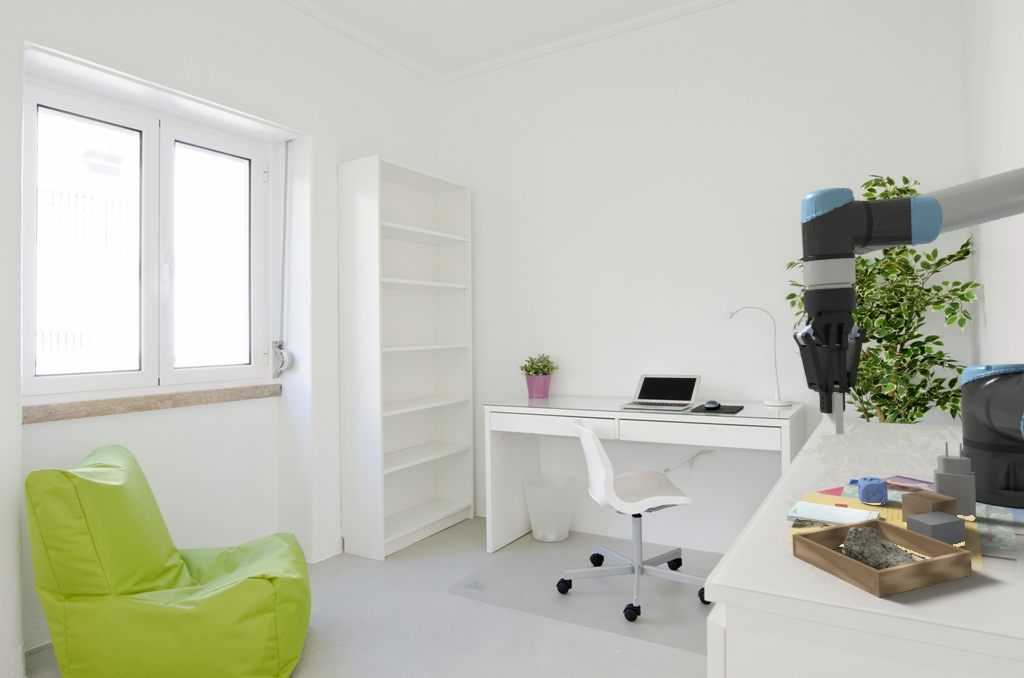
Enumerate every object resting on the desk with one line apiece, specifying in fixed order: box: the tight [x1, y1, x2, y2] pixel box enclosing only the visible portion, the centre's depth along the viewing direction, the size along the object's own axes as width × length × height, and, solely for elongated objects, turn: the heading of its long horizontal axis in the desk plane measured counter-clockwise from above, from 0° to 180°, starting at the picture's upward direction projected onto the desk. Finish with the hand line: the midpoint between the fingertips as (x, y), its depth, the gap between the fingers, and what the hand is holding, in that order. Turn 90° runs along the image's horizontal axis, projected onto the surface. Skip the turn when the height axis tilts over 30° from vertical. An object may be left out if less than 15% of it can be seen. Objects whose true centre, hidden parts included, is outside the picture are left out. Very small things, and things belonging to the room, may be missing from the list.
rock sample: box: [841, 527, 918, 570], centre depth 82 cm, size 10×8×9 cm
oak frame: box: [792, 519, 973, 598], centre depth 84 cm, size 15×14×3 cm
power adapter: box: [933, 441, 977, 519], centre depth 100 cm, size 3×5×12 cm, turn 53°
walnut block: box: [901, 489, 957, 523], centre depth 96 cm, size 5×5×5 cm
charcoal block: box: [906, 511, 966, 545], centre depth 90 cm, size 6×4×4 cm, turn 105°
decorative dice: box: [857, 476, 889, 504], centre depth 109 cm, size 4×4×4 cm
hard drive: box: [786, 500, 881, 526], centre depth 102 cm, size 2×8×12 cm
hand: (833, 432), depth 101 cm, fingers closed
